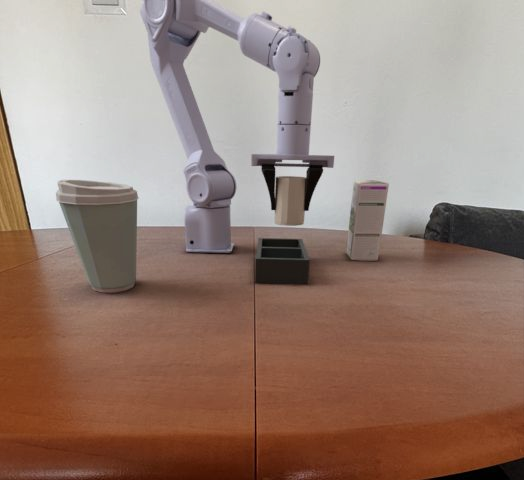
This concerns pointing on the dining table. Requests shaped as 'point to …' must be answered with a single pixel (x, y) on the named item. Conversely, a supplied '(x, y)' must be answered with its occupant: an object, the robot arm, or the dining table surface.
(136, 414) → the dining table surface
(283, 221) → the paper cup
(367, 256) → the syrup box
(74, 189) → the disposable coffee cup
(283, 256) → the cup holder
